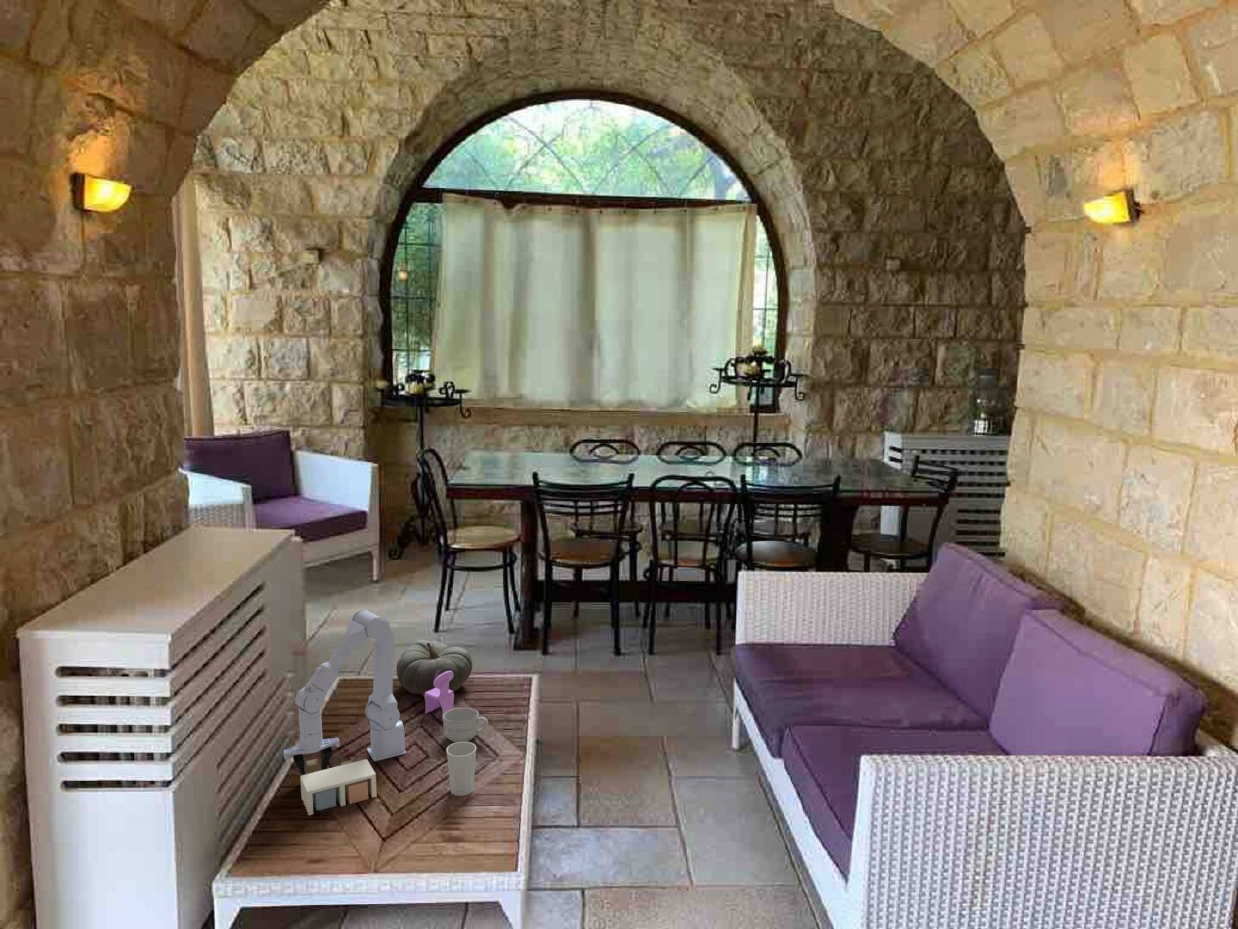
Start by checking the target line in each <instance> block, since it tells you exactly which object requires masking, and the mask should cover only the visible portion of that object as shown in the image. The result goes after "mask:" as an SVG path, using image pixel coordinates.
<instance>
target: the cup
mask: <svg viewBox="0 0 1238 929" xmlns="http://www.w3.org/2000/svg"><path fill="white" fill-rule="evenodd" d="M445 751H446V759H447V766H448V767H447V768H448V777H449V778H448V779H449V785H450V791H449V792H450V793H451V795H453V796H456V797H457V796H459V797H463V796H467V795H470V794H472V792H474V790H475V772H476V771H475V770H476V759H477V758H476V757H477V746H476V744H475V743H473V742H470V741H468V742H457V743H456V742H453V743H451V744H449V745H448V746H447V747H446V749H445Z"/></svg>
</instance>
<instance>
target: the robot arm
mask: <svg viewBox="0 0 1238 929" xmlns="http://www.w3.org/2000/svg"><path fill="white" fill-rule="evenodd" d="M390 625H391V624H390V621H389V620H387V619H386V618H384V617H382V616H379V615H377V614H375V613H373V612H372V611H370V610H368V609H359V610H357V611H356V612H355V613H354V614H353V616H352V618H351V619H350V620H349V622H347V625H346V631H345V633H344V634H343V636H342V638H341V639H340V641H339V643H338V645H337V646H336V647H335V649H334V650H333V652H332V654H331V656H330V657H329V660H328V661H326V662H323V663H321V664H320V665H319V666H317V667H316V668H315V669H314V674H313V675H312V676H311V678H310V679H309V681H308V682H307V683H306V684H305V685H304V687H302V688H301V689H299V690H298V691H297V693H296V695H295V698H293V702H294V704H295V705H296V706H297V707H298V721H299V736H300V737H299V738H300V744H297V745H295V746H292V747H289V748H287V749H284V750H283V758H284V760H285V761H287V760H289V759H290V758H293V761H294V763H295V764H296V766H297V768H298V771H299V773H300V776H301V775H305V774H306V772H305V758H304V756H303V755H306V754H313V753H315V754H316V753H319V752H320V761H321V762H320V763H321V765H320V771H321V770H325V769H328V765H329V762H330V760H331V758H332V756H333V753H334V751H333V748H334V747H335V748H339V747H340V746H341V744H340V742H341V741H340V739H339V737H335V738H334V737H333V738H323V724H322V723H323V722H322V708H323V707H324V706H325V703H326V702H325V701H326V697H327V693H328V692H329V690H330V689H331V687H332V686H333V684H334V683H335V681H336V680H337V678H338V677H339V675H340V673H339V672H340V670H339V668H340V667H341V665H342V664H343V663H344V662H345V661H346V659H347V658H348V657H349V655H350V654H351V653H352V651H353V650H354V649H355V648H356V646H357V645H361V644H365V643H369V642H370V639H372V641H374V655H373V656H374V659H373V660H374V661H373V687H372V693H371V694H369V696H368V700H367V704H366V706H365V710H364V713H365V714H364V715H365V717H366V718H368V719H369V733H370V747H367V748H366V751H367V752H368V754H369V756H370V758H371V759H372V761H373V762H378V761H382V760H385V759H389V758H393V757H399V756H401V755H405V754H407V751H406V740H405V739H406V738H405V737H406V736H405V727H404V724H403V722H402V720H400V715H401V714H400V711H399V709H398V702H397V699H396V698H395V696H394V693H393V685H394V684H393V683H394V658H395V639H396V638H395V632H394V631H393V629H392V628H391V626H390ZM369 638H370V639H369Z"/></svg>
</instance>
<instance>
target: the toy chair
mask: <svg viewBox="0 0 1238 929" xmlns="http://www.w3.org/2000/svg"><path fill="white" fill-rule="evenodd" d="M453 676H454V674H453V672H452V671H446V672H444V673H442V674H440V675H439V676H438V677H437V678H436V679H435V680H434V682H433V684H434V686H435V688H434V689H432V690H430V691H427V692H425V695H424V696H423V697H424V701H425V710H424V711H425V712H424V713H425V715H426V713H427V714H428V712H429V713H430V711H431V712H432V711H434V709H435V710H437V709H438V707H439V706H440V707H441V710H442V711H441V712H442V714H441V715H442V716H441V721H443V714H444V713H445V712H447V711H449V710H451V709H455V705H454V702H455V701H454V699H455V694H454V691H452V690H449V682H450V681H451V680H452V678H453ZM440 707H439V708H440ZM436 708H437V709H436Z"/></svg>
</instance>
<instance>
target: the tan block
mask: <svg viewBox="0 0 1238 929" xmlns="http://www.w3.org/2000/svg"><path fill="white" fill-rule="evenodd" d="M353 762H354V761H353V760H352V759H350V760H346V761H342V762H340V764H341V765H345V764H349V763H353ZM341 765H340V766H341ZM345 799H346V800H347V802H348V804H349V805H352V804H355V803H358V802H362V801H366V800H369V791H368V781H367V780H362V781H358V782H354V783H350V784H347V785H345Z"/></svg>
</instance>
